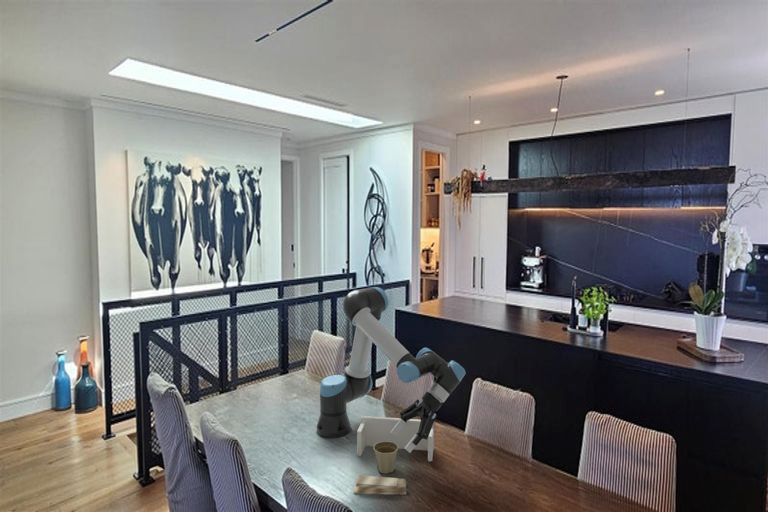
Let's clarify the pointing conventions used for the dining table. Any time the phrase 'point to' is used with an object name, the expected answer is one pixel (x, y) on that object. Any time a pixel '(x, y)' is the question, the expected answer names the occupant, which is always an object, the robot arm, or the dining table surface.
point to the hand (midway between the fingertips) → (399, 442)
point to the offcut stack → (379, 485)
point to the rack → (380, 431)
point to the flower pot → (386, 456)
